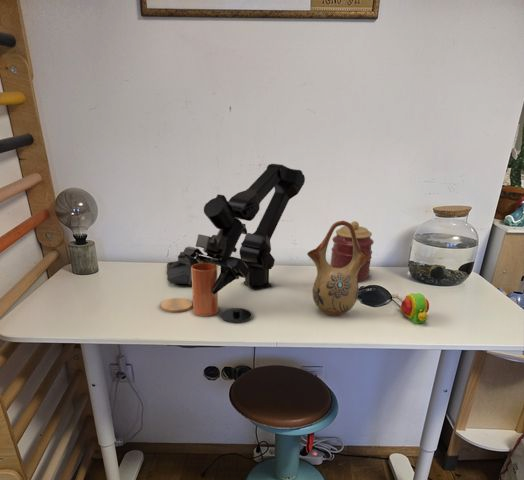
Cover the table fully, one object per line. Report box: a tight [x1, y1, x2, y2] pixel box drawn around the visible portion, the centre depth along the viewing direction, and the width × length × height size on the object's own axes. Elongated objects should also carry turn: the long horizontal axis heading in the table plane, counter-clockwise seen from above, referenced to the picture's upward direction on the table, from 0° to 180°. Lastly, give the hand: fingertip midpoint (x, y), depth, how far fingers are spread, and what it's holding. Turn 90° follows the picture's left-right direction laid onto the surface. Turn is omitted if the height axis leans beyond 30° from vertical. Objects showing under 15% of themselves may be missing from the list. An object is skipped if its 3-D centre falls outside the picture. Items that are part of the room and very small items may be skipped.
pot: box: [191, 263, 219, 317], centre depth 123 cm, size 7×7×12 cm
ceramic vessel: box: [306, 220, 372, 317], centre depth 121 cm, size 16×9×25 cm, turn 85°
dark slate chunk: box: [166, 251, 191, 285], centre depth 149 cm, size 15×22×5 cm
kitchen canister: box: [329, 220, 375, 282], centre depth 149 cm, size 13×13×18 cm
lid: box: [220, 307, 252, 324], centre depth 123 cm, size 8×8×2 cm
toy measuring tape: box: [390, 292, 430, 324], centre depth 128 cm, size 6×20×7 cm, turn 9°
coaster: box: [160, 297, 193, 313], centre depth 129 cm, size 8×8×1 cm
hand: (201, 289), depth 122 cm, fingers open, 7 cm apart
